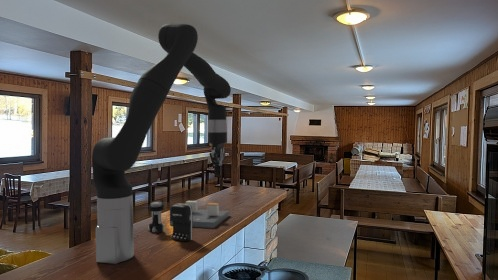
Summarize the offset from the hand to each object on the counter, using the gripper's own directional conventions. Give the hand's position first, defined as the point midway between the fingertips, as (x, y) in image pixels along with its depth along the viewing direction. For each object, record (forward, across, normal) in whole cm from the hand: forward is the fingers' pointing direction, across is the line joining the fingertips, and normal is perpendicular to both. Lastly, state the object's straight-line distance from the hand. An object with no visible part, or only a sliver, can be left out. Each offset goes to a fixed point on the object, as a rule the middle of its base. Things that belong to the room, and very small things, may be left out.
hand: (218, 174), depth 142 cm
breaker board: (+17, -6, +5) cm, 19 cm away
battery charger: (+17, -30, +2) cm, 35 cm away
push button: (+17, -24, +15) cm, 33 cm away
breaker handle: (+14, -6, 0) cm, 16 cm away
